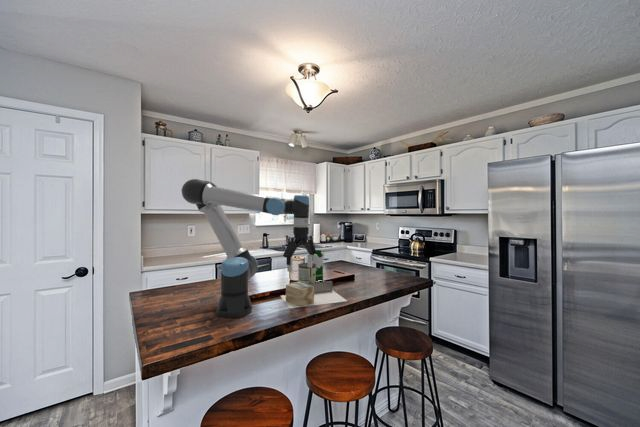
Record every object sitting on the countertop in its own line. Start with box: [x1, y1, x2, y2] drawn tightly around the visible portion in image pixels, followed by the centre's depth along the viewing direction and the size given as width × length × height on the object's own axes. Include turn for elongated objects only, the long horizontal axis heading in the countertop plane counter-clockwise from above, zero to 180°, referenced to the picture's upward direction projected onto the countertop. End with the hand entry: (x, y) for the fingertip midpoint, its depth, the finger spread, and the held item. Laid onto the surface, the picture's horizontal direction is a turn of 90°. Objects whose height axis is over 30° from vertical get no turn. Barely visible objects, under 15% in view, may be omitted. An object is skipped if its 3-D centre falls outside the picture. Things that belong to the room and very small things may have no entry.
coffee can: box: [297, 262, 316, 283], centre depth 159 cm, size 10×10×14 cm
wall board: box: [280, 289, 348, 309], centre depth 141 cm, size 30×19×1 cm, turn 112°
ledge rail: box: [304, 279, 333, 293], centre depth 150 cm, size 20×2×7 cm, turn 112°
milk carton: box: [307, 249, 325, 281], centre depth 176 cm, size 9×9×20 cm
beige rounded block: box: [285, 281, 314, 308], centre depth 136 cm, size 8×12×8 cm, turn 47°
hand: (300, 269), depth 136 cm, fingers open, 13 cm apart
